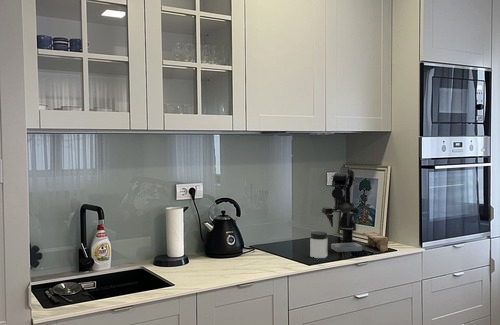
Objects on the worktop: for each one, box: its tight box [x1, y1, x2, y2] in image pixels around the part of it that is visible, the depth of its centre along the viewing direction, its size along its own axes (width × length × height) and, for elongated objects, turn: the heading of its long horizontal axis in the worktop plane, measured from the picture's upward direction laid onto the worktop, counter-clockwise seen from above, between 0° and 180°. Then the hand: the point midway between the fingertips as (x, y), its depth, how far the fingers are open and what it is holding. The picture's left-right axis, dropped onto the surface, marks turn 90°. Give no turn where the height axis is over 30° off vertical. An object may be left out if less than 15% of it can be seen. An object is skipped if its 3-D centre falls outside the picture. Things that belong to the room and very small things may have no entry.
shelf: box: [362, 231, 389, 252], centre depth 272 cm, size 16×7×7 cm, turn 12°
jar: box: [309, 231, 328, 259], centre depth 252 cm, size 9×8×12 cm
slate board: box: [330, 242, 363, 253], centre depth 268 cm, size 9×14×3 cm, turn 101°
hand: (340, 226), depth 264 cm, fingers open, 9 cm apart
